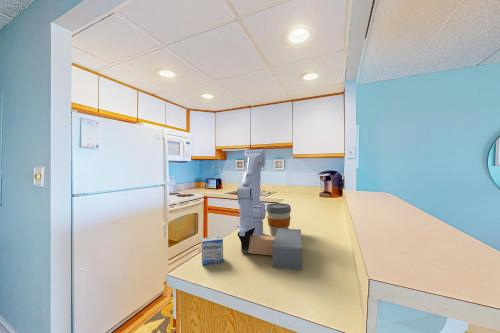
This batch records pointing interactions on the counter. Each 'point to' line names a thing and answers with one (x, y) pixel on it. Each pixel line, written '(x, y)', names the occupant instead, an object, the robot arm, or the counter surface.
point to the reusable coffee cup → (278, 217)
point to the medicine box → (212, 250)
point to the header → (287, 249)
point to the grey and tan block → (260, 245)
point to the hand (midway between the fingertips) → (246, 247)
